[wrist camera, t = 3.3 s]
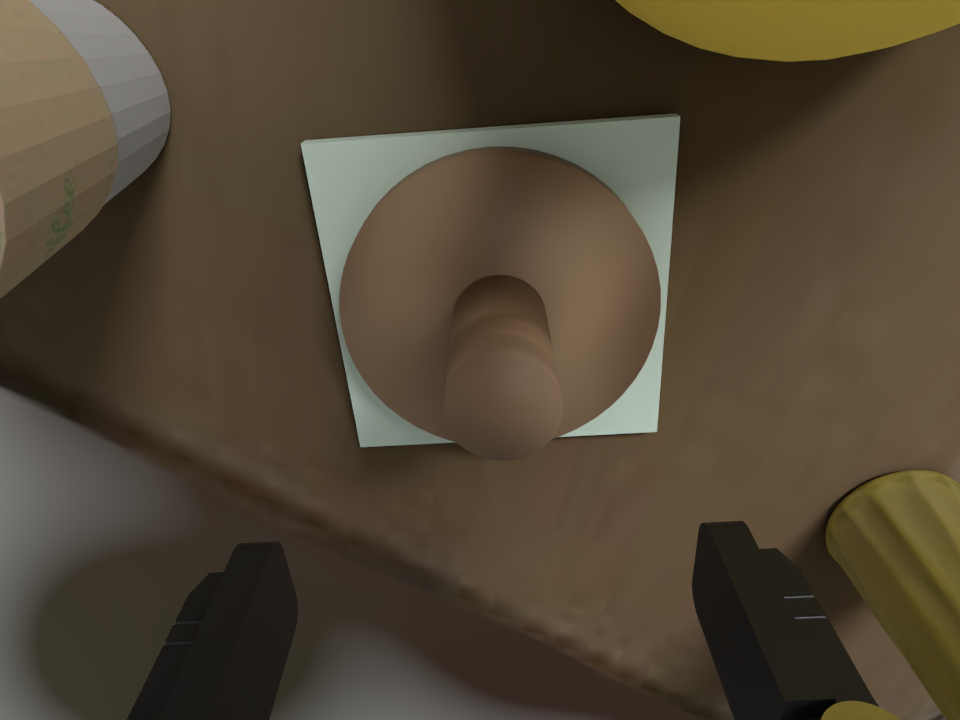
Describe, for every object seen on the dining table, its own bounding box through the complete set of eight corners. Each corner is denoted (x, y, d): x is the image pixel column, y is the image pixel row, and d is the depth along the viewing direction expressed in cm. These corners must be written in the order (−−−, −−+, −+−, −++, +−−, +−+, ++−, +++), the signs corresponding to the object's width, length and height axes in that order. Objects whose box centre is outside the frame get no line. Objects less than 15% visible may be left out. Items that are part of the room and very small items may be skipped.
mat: (675, 113, 21) (680, 116, 20) (653, 423, 27) (656, 431, 26) (305, 140, 21) (300, 143, 21) (363, 438, 27) (360, 447, 27)
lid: (663, 134, 21) (738, 192, 14) (644, 422, 26) (693, 553, 20) (319, 158, 21) (250, 224, 15) (370, 436, 26) (335, 568, 20)
